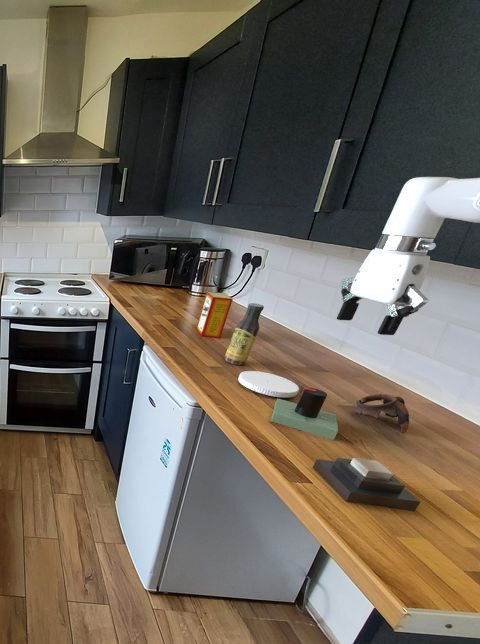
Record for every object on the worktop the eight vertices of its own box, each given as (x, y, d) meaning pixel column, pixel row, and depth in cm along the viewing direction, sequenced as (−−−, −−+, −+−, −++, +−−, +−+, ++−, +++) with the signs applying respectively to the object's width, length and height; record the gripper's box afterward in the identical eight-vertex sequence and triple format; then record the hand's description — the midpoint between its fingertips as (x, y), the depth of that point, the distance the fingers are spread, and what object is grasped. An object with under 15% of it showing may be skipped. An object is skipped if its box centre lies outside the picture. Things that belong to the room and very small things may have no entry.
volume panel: (332, 423, 99) (337, 413, 97) (333, 440, 91) (338, 430, 90) (273, 406, 105) (277, 397, 104) (270, 421, 98) (274, 412, 97)
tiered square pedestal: (373, 475, 80) (382, 459, 78) (414, 511, 71) (426, 493, 69) (312, 467, 82) (320, 451, 80) (345, 501, 73) (355, 484, 71)
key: (372, 467, 76) (376, 460, 76) (388, 481, 73) (393, 473, 72) (349, 464, 77) (353, 457, 76) (364, 478, 73) (368, 470, 73)
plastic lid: (273, 379, 121) (276, 372, 120) (308, 402, 108) (311, 393, 107) (227, 377, 121) (229, 369, 120) (256, 399, 108) (259, 391, 107)
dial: (317, 413, 98) (327, 390, 95) (317, 420, 94) (328, 396, 92) (294, 407, 100) (304, 384, 97) (294, 413, 97) (304, 390, 94)
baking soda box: (196, 329, 165) (207, 290, 158) (213, 331, 163) (225, 292, 157) (201, 336, 156) (213, 296, 150) (220, 338, 155) (233, 298, 148)
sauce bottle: (219, 360, 134) (238, 302, 126) (231, 357, 137) (251, 300, 128) (238, 367, 129) (258, 307, 121) (250, 365, 131) (271, 306, 123)
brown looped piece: (403, 440, 93) (393, 408, 93) (352, 435, 102) (343, 406, 101) (425, 416, 98) (416, 386, 97) (374, 414, 107) (365, 386, 106)
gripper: (471, 253, 72) (421, 341, 79) (378, 240, 88) (344, 315, 95) (432, 251, 72) (386, 340, 79) (346, 239, 87) (314, 314, 95)
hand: (363, 326), depth 87 cm, fingers open, 9 cm apart
